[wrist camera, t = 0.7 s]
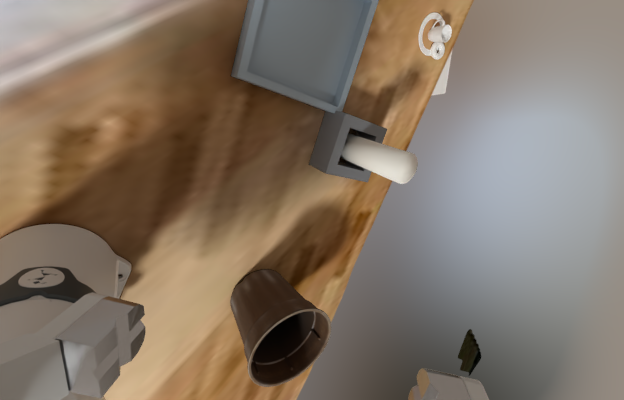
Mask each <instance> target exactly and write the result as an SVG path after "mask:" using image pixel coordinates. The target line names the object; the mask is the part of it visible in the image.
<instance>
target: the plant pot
mask: <svg viewBox="0 0 624 400" xmlns="http://www.w3.org/2000/svg"><path fill="white" fill-rule="evenodd" d="M231 309H232V311H233V314H234V317H235V320H236V323H237V326H238V329H239V331H240V334H241V337H242V340H243V343H244V350H245V355H246V358H247V361H248V373H249V376H250V378H251V380H252V381H253V382H254V383H256V384H257V385H260V386H264V387H271V386H277V385H280V384H283V383H285V382H288V381H290V380H292V379H294V378H295V377H297V376H299V375H300V374H301V373H303V372H304V371H305V370H307V369H308V368H309V367H310V366H311V365H312V364H313V363H314V362H315V361H316V359H317V358H318V357H319V356H320V354H321V353H322V351H323V350H324V348H325V347H326V344H327V343H328V340H329V337H330V333H331V322H330V319H329V317H328V315H327V314H326V313H325V312H324V311H322V310H320V309H317V308H316V307H315V306H314V305H313V304H312V303H311V302H309V301H307V300H305V299H304V298H303V297H302V296H301V295H300V294H299V293H298V292H297V291H296V290H295V289H294V288H293V287H292V286H291V285H290V284H289V283H288V282H287V281H286V280H285V279H284V278H283V277H282V276H281V275H280V274H279V273H277V272H276V271H274V270H269V269H264V270H259V271H255V272H253V273H251V274H249V275H247V276H246V277H245V278H244V280H243V281H242V282H241V283H240V284H237V286H236V287H235V289H234V291H233V293H232V296H231Z"/></svg>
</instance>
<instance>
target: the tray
mask: <svg viewBox="0 0 624 400" xmlns="http://www.w3.org/2000/svg"><path fill="white" fill-rule="evenodd" d="M378 1H379V0H248V3H247V8H246V12H245V16H244V21H243V25H242V30H241V34H240V38H239V43H238V47H237V51H236V56H235V60H234V64H233V69H232V73H231V76H232V77H234V78H237V79H240V80H243V81H245V82H248V83H251V84H253V85H256V86H259V87H261V88H264V89H267V90H270V91H272V92H275V93H278V94H280V95H283V96H286V97H288V98H291V99H294V100H297V101H299V102H302V103H305V104H307V105H310V106H313V107H315V108H318V109H321V110H324V111H327V112H331V113H335V111H339V112H342V111H343V108H344V105H345V101H346V98H347V95H348V92H349V89H350V86H351V83H352V80H353V77H354V74H355V71H356V68H357V65H358V62H359V59H360V56H361V53H362V50H363V47H364V44H365V40H366V37H367V34H368V31H369V28H370V25H371V22H372V19H373V16H374V13H375V10H376V7H377V4H378Z"/></svg>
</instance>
